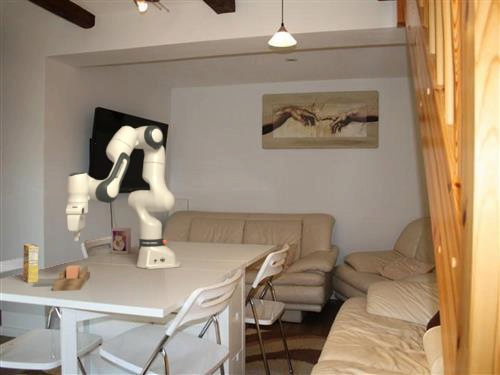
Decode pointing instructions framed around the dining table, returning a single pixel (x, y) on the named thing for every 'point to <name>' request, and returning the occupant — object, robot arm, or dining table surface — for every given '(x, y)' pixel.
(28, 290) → the dining table surface
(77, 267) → the block
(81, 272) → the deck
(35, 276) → the candy box
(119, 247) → the greeting card
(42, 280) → the trivet
